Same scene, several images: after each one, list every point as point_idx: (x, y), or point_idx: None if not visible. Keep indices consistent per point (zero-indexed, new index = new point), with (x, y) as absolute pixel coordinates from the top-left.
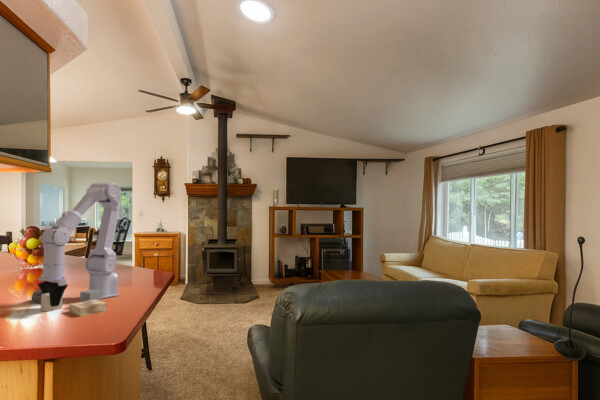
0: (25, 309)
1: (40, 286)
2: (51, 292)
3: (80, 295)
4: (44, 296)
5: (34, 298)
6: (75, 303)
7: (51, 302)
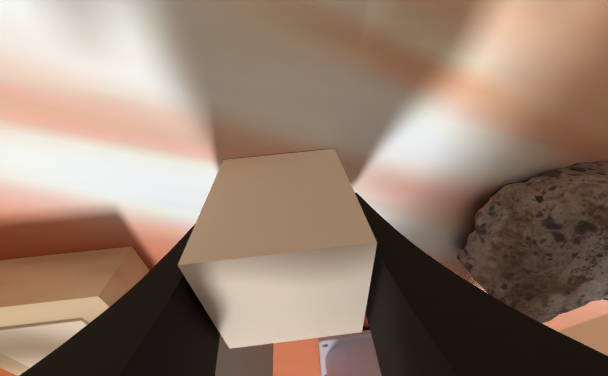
0: (438, 54)
1: (488, 365)
2: (59, 354)
3: (234, 363)
4: (271, 239)
5: (601, 180)
6: (92, 315)
7: (190, 231)
